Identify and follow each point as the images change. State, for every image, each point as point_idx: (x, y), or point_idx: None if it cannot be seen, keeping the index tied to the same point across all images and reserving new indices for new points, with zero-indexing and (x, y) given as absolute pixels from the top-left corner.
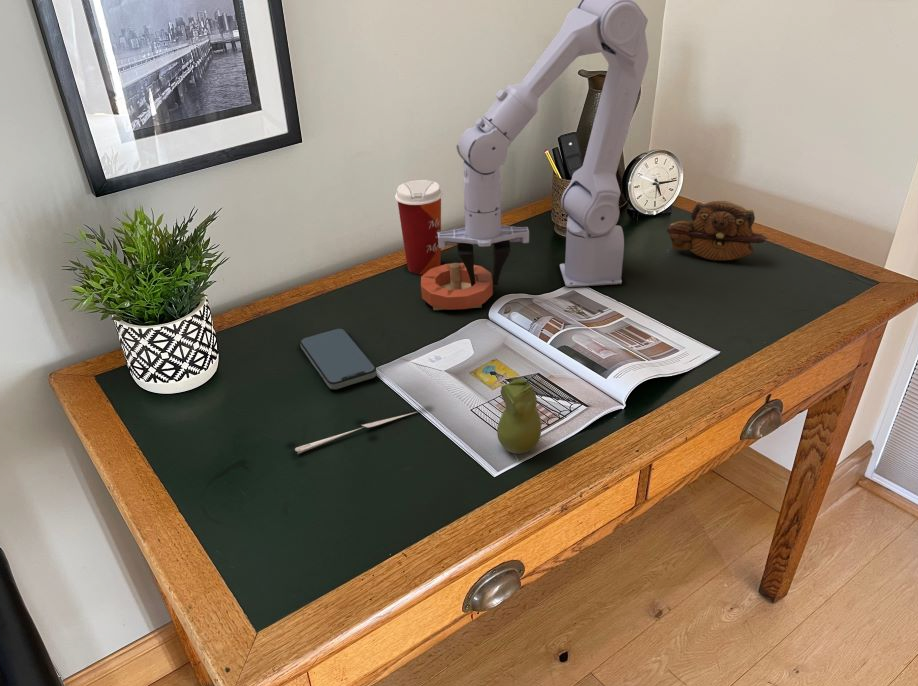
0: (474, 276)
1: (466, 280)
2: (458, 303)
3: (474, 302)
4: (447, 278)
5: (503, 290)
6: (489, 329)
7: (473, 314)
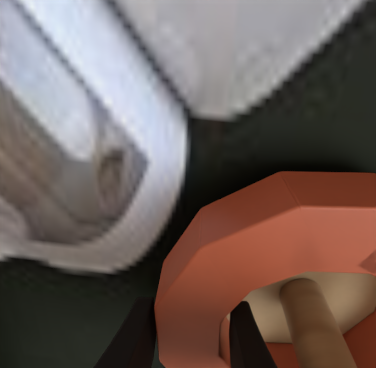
0: (240, 344)
1: None
2: (335, 185)
3: (247, 197)
4: None
5: (131, 292)
6: (188, 10)
7: (249, 158)
